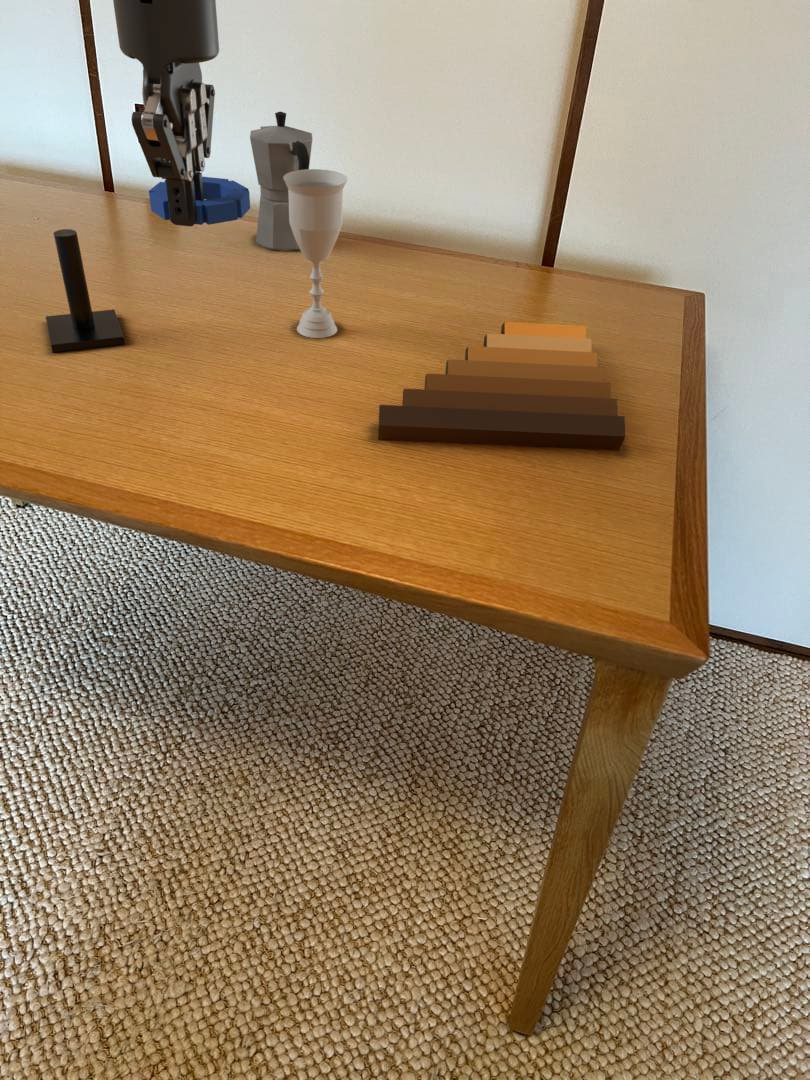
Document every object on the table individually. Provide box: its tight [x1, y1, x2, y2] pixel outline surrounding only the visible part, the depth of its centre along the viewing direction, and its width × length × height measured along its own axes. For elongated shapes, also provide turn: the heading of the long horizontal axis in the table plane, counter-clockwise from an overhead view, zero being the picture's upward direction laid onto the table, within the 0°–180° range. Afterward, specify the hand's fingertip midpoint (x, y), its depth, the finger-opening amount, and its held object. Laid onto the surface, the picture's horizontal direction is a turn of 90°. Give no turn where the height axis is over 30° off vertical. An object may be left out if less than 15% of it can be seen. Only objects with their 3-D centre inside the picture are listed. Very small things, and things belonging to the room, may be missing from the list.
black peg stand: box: [45, 228, 126, 354], centre depth 93 cm, size 8×8×12 cm
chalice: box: [283, 168, 348, 339], centre depth 96 cm, size 7×7×18 cm
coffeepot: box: [249, 111, 313, 252], centre depth 119 cm, size 15×9×18 cm, turn 29°
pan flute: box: [377, 321, 626, 451], centre depth 92 cm, size 25×3×25 cm
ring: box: [148, 176, 251, 226], centre depth 74 cm, size 8×8×2 cm
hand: (188, 219), depth 72 cm, fingers closed on ring, 1 cm apart
